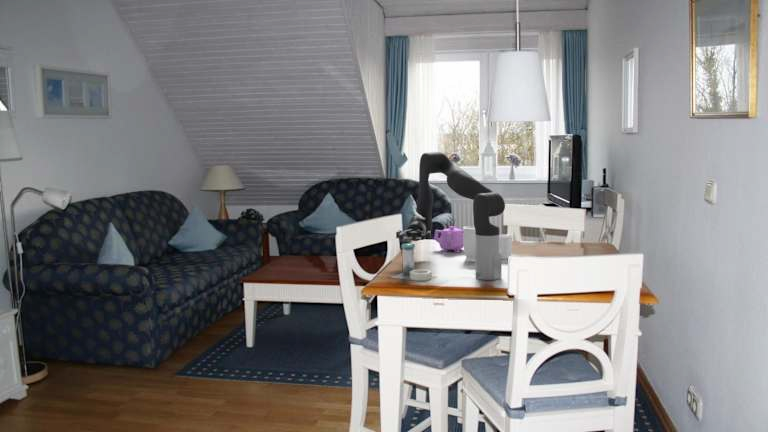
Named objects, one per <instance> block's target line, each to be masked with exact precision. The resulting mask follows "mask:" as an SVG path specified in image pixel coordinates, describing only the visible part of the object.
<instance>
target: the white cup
mask: <svg viewBox="0 0 768 432" xmlns="http://www.w3.org/2000/svg"><path fill="white" fill-rule="evenodd" d="M512 249H513V235H512V234H504V233H503V234H501V233H500V234H499V253H501V260H507V259H506V258H508V257H509V256H511V257H512Z"/></svg>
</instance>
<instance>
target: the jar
mask: <svg viewBox="0 0 768 432" xmlns="http://www.w3.org/2000/svg"><path fill="white" fill-rule="evenodd" d="M462 231H464V233H463V251H464V255H465V256H466V257H465V261H466V262H468V263H476V232H475V227H474V225H465V226H463V227H462Z"/></svg>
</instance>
